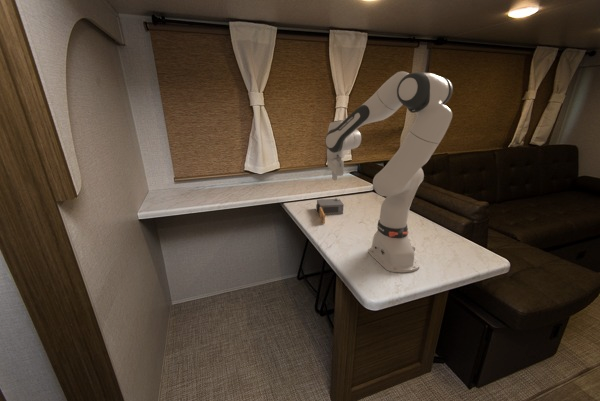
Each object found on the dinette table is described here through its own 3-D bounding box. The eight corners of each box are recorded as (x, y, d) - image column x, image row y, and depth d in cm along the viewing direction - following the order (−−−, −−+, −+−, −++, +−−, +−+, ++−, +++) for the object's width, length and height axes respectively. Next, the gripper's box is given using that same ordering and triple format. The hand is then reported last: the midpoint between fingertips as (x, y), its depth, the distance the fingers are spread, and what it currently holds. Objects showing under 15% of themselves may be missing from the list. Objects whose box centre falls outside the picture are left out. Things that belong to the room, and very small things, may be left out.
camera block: (343, 213, 153) (343, 203, 150) (317, 215, 151) (318, 204, 148) (338, 207, 162) (339, 197, 159) (314, 208, 160) (315, 198, 158)
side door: (322, 224, 139) (322, 215, 137) (318, 215, 151) (318, 206, 149) (324, 224, 139) (325, 215, 137) (320, 214, 151) (321, 206, 149)
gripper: (347, 157, 121) (345, 185, 126) (336, 150, 140) (335, 174, 145) (334, 157, 121) (333, 185, 126) (325, 150, 140) (324, 174, 145)
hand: (334, 179), depth 136 cm, fingers closed
